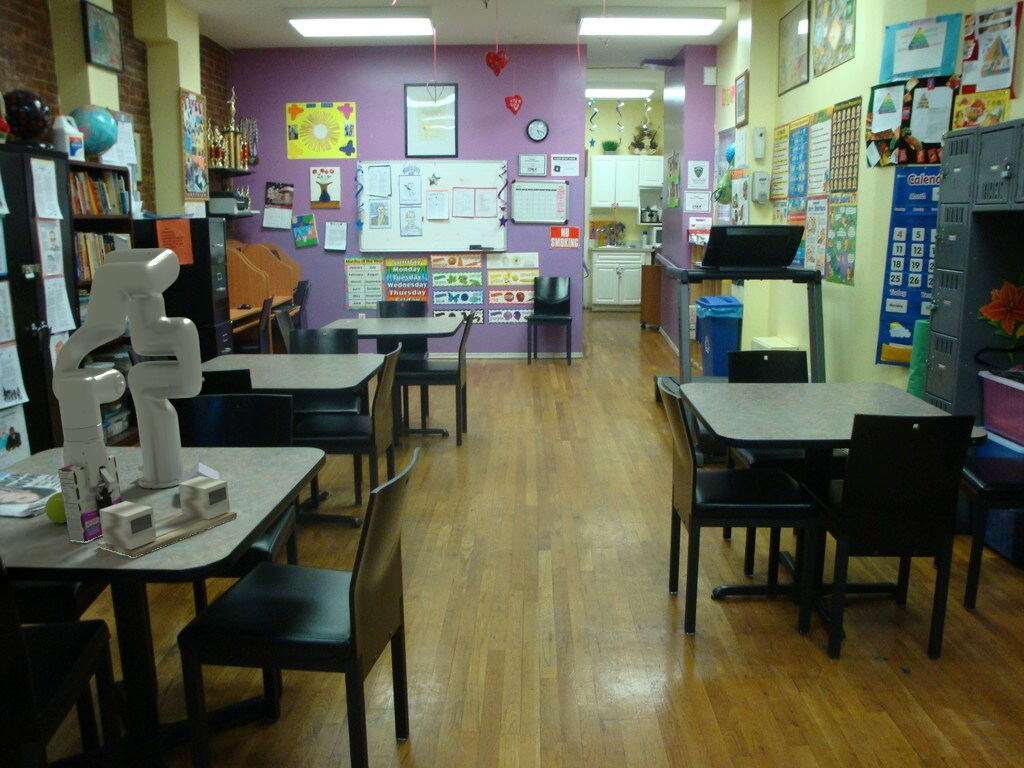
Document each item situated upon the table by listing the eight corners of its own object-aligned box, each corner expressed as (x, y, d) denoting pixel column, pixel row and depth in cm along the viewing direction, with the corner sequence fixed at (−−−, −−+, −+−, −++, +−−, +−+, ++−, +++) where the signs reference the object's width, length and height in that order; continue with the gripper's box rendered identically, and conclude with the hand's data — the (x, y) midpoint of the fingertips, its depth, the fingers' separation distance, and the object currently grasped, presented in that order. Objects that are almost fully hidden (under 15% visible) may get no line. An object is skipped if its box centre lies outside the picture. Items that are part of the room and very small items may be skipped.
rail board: (98, 548, 174) (92, 509, 173) (201, 509, 196) (198, 474, 194) (133, 559, 168) (128, 518, 167) (237, 517, 190) (233, 481, 188)
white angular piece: (182, 490, 211) (180, 506, 199) (179, 464, 210) (177, 479, 198) (220, 485, 214) (220, 500, 202) (217, 459, 213) (218, 474, 201)
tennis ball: (56, 517, 194) (51, 488, 193) (87, 516, 195) (83, 487, 193) (41, 528, 187) (37, 498, 186) (74, 526, 188) (69, 497, 186)
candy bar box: (108, 523, 189) (99, 453, 186) (126, 526, 187) (116, 455, 184) (67, 542, 179) (56, 468, 175) (85, 544, 177) (74, 470, 174)
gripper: (43, 433, 180) (54, 511, 183) (91, 442, 171) (102, 524, 174) (76, 425, 186) (87, 501, 189) (124, 433, 177) (135, 513, 180)
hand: (94, 511), depth 182 cm, fingers open, 7 cm apart
